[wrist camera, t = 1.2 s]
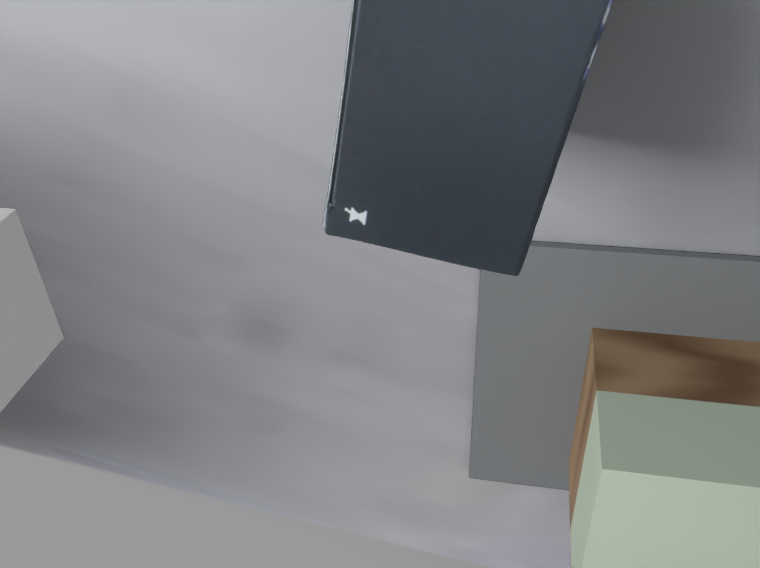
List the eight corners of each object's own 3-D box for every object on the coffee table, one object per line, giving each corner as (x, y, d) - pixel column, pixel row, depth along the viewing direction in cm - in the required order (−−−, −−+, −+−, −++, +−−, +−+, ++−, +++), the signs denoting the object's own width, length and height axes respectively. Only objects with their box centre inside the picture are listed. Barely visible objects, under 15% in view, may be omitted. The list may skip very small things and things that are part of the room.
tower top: (570, 530, 34) (572, 610, 31) (596, 390, 29) (602, 468, 26) (776, 558, 33) (801, 645, 29) (844, 415, 27) (882, 502, 24)
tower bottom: (568, 464, 37) (570, 530, 34) (591, 327, 32) (596, 390, 29) (756, 486, 36) (776, 558, 33) (813, 347, 31) (844, 415, 27)
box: (528, 125, 28) (519, 285, 19) (384, 91, 28) (313, 235, 20) (598, -102, 23) (626, -20, 15) (424, -139, 23) (352, -80, 15)
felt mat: (469, 472, 40) (469, 478, 39) (482, 237, 31) (481, 242, 31) (765, 508, 37) (767, 515, 37) (870, 264, 28) (874, 270, 28)
